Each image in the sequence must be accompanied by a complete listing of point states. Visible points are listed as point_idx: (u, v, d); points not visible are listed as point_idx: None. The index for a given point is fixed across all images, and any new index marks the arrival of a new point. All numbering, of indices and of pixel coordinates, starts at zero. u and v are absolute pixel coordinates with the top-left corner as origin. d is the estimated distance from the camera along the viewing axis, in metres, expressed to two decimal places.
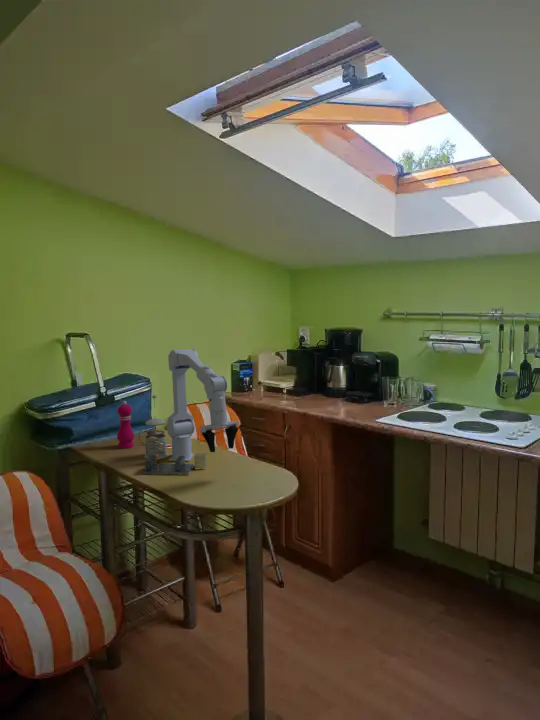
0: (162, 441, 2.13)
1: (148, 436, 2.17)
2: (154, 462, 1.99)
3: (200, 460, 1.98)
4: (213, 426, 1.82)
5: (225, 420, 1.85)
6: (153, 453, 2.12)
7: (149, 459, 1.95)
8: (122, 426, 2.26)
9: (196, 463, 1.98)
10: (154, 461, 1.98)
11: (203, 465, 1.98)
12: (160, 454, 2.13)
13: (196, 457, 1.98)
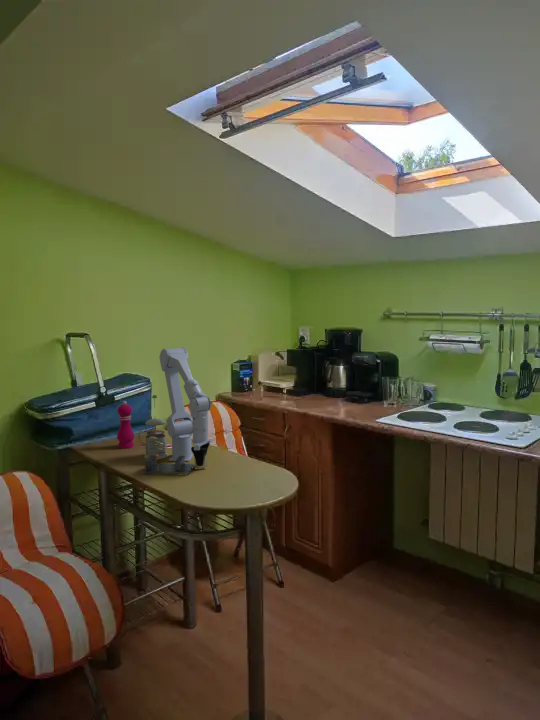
0: (162, 441, 2.13)
1: (148, 436, 2.17)
2: (154, 462, 1.99)
3: None
4: (203, 443, 1.95)
5: None
6: (153, 453, 2.12)
7: (149, 459, 1.95)
8: (122, 426, 2.26)
9: None
10: (154, 461, 1.98)
11: (203, 465, 1.98)
12: (160, 454, 2.13)
13: None
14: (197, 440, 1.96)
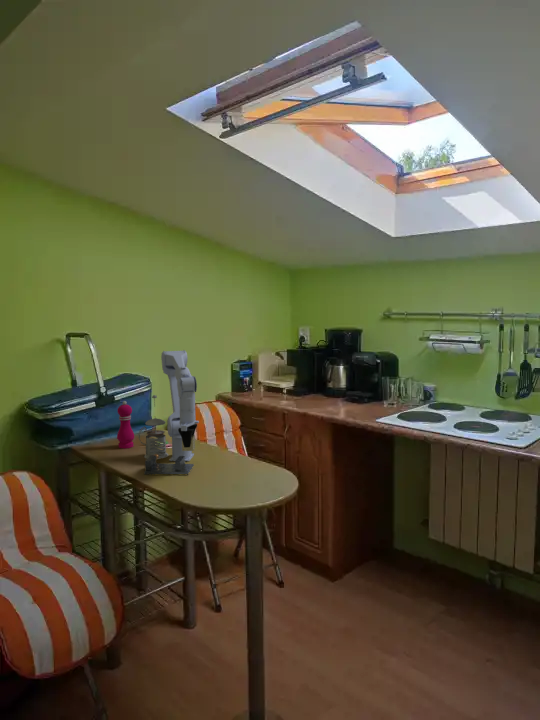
0: (162, 441, 2.13)
1: (148, 436, 2.17)
2: (154, 462, 1.99)
3: None
4: (190, 424, 1.93)
5: None
6: (153, 453, 2.12)
7: (149, 459, 1.95)
8: (122, 426, 2.26)
9: None
10: (154, 461, 1.98)
11: (191, 446, 1.96)
12: (160, 454, 2.13)
13: None
14: (184, 421, 1.94)
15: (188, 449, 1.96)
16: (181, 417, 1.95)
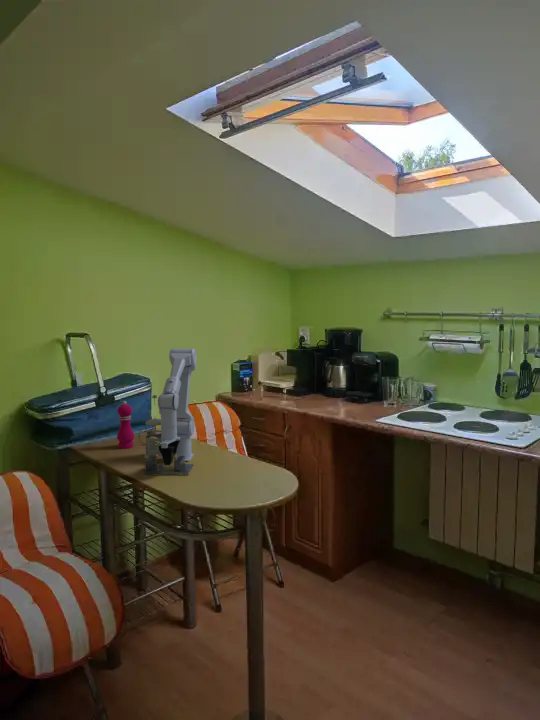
0: None
1: (148, 436, 2.17)
2: (154, 462, 1.99)
3: None
4: (171, 441, 1.92)
5: None
6: (153, 453, 2.12)
7: (149, 459, 1.95)
8: (122, 426, 2.26)
9: None
10: (154, 461, 1.98)
11: (172, 465, 1.95)
12: (160, 454, 2.13)
13: None
14: (165, 438, 1.93)
15: (170, 468, 1.95)
16: (162, 434, 1.94)
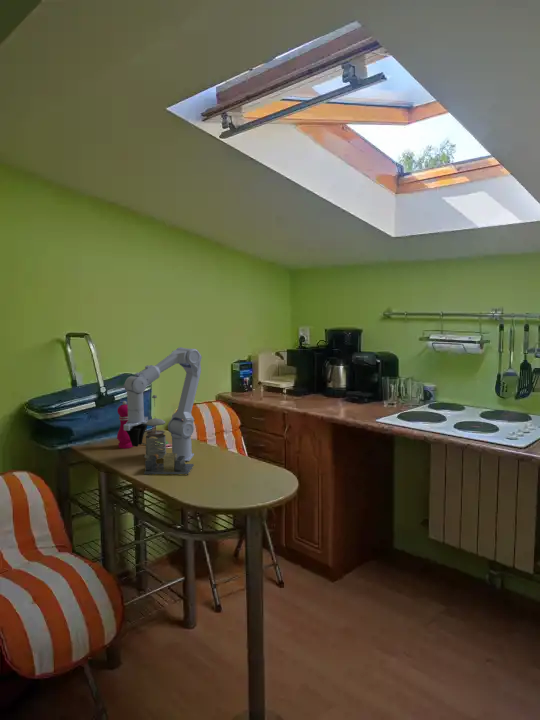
0: (162, 441, 2.13)
1: (148, 436, 2.17)
2: (154, 462, 1.99)
3: (169, 460, 1.95)
4: (135, 424, 1.92)
5: (143, 417, 1.96)
6: (153, 453, 2.12)
7: (149, 459, 1.95)
8: (122, 426, 2.26)
9: (165, 463, 1.95)
10: (154, 461, 1.98)
11: (172, 465, 1.95)
12: (160, 454, 2.13)
13: (165, 457, 1.95)
14: (130, 420, 1.93)
15: (170, 468, 1.95)
16: (128, 416, 1.94)
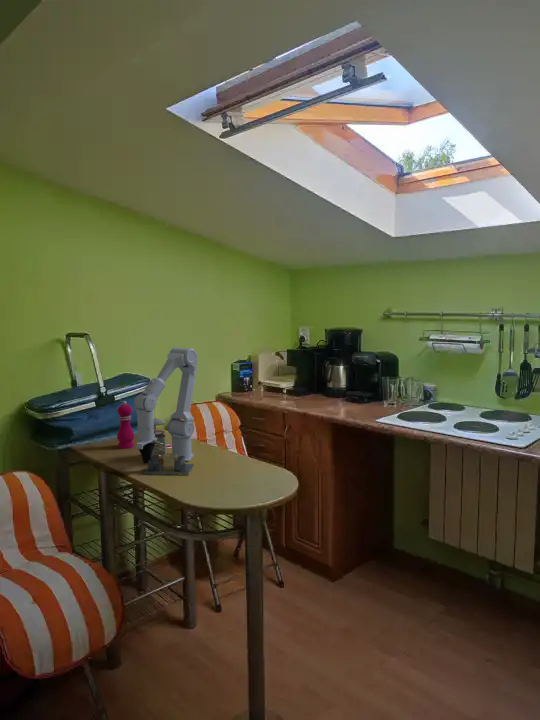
0: (162, 441, 2.13)
1: None
2: (157, 462, 1.98)
3: (169, 460, 1.95)
4: (147, 442, 1.93)
5: (153, 435, 1.97)
6: (153, 453, 2.12)
7: (152, 459, 1.95)
8: (122, 426, 2.26)
9: (165, 463, 1.95)
10: (157, 461, 1.98)
11: (172, 465, 1.95)
12: (160, 454, 2.13)
13: (165, 457, 1.95)
14: (141, 439, 1.94)
15: (170, 468, 1.95)
16: (139, 435, 1.94)
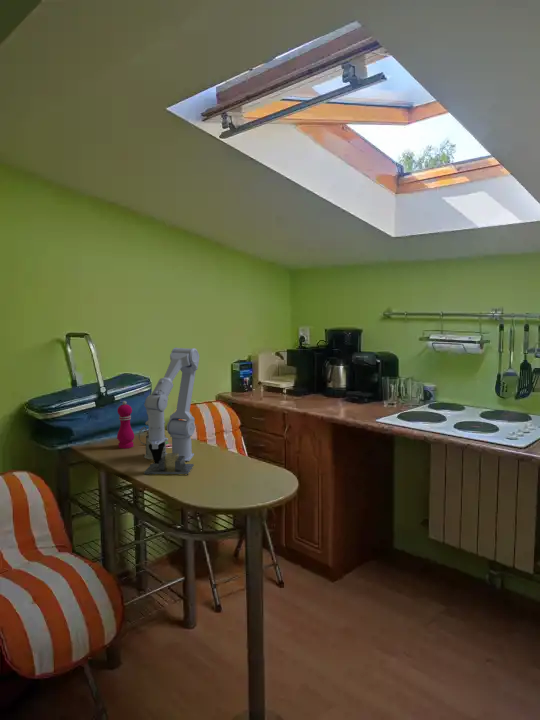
0: None
1: (148, 436, 2.17)
2: None
3: (171, 460, 1.95)
4: (161, 442, 1.93)
5: None
6: None
7: (162, 459, 1.95)
8: (122, 426, 2.26)
9: (167, 463, 1.95)
10: None
11: (174, 465, 1.95)
12: None
13: (167, 457, 1.95)
14: (154, 439, 1.93)
15: (171, 468, 1.95)
16: (150, 435, 1.94)
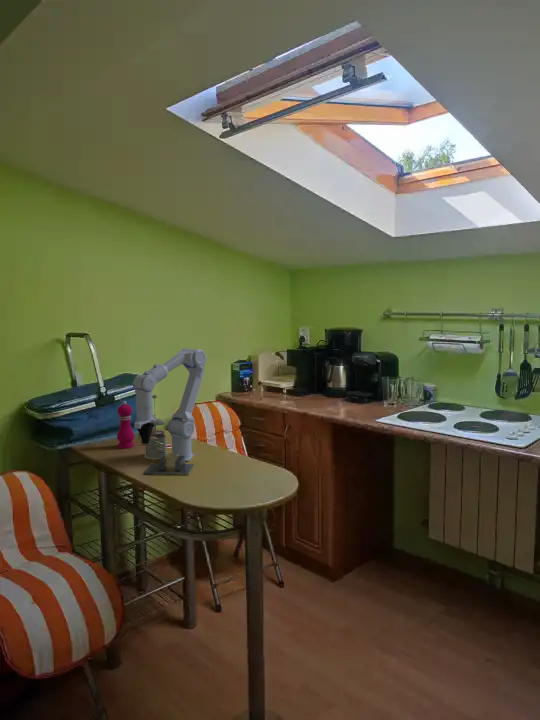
0: (162, 441, 2.13)
1: None
2: None
3: (171, 460, 1.95)
4: (146, 422, 1.93)
5: (152, 415, 1.97)
6: (153, 453, 2.12)
7: (162, 459, 1.95)
8: (122, 426, 2.26)
9: (167, 463, 1.95)
10: None
11: (174, 465, 1.95)
12: (160, 454, 2.13)
13: (167, 457, 1.95)
14: (140, 419, 1.94)
15: (171, 468, 1.95)
16: (137, 415, 1.95)
